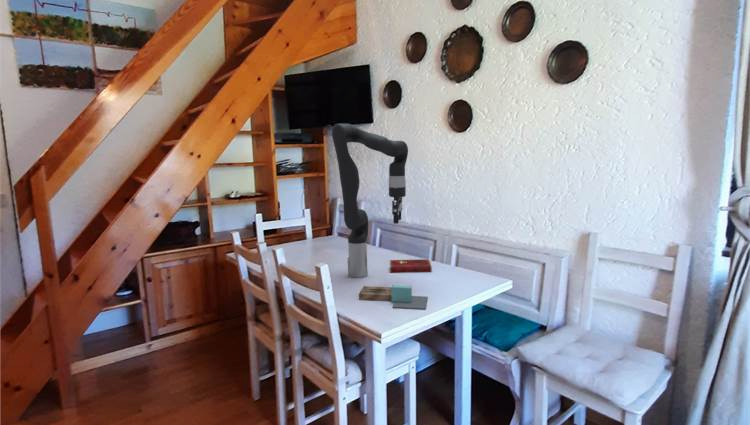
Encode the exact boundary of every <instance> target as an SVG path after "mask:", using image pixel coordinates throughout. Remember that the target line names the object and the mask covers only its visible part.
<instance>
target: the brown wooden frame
mask: <svg viewBox="0 0 750 425" xmlns="http://www.w3.org/2000/svg"><path fill="white" fill-rule="evenodd" d="M391 287H392V286H375V285H374V286H369V285H364V286H363V287H362V288H361V290H360V292H358V300H362V301H381V302H382V301H384V302H393V301H392V293H391Z"/></svg>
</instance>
